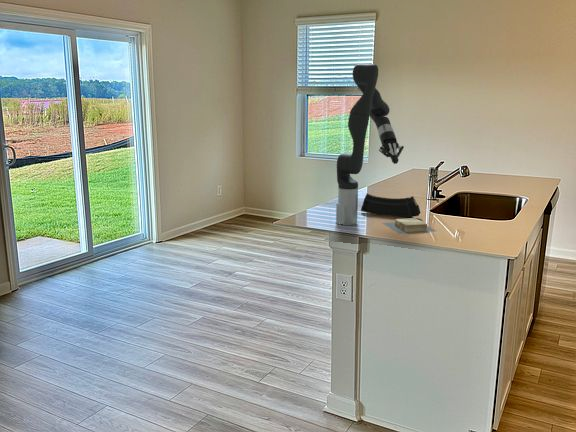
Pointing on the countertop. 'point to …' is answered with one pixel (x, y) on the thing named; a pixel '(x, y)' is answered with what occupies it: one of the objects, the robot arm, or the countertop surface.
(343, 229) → the countertop surface
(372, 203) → the magazine
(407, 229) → the oak tile
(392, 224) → the rubber mat
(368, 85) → the robot arm
